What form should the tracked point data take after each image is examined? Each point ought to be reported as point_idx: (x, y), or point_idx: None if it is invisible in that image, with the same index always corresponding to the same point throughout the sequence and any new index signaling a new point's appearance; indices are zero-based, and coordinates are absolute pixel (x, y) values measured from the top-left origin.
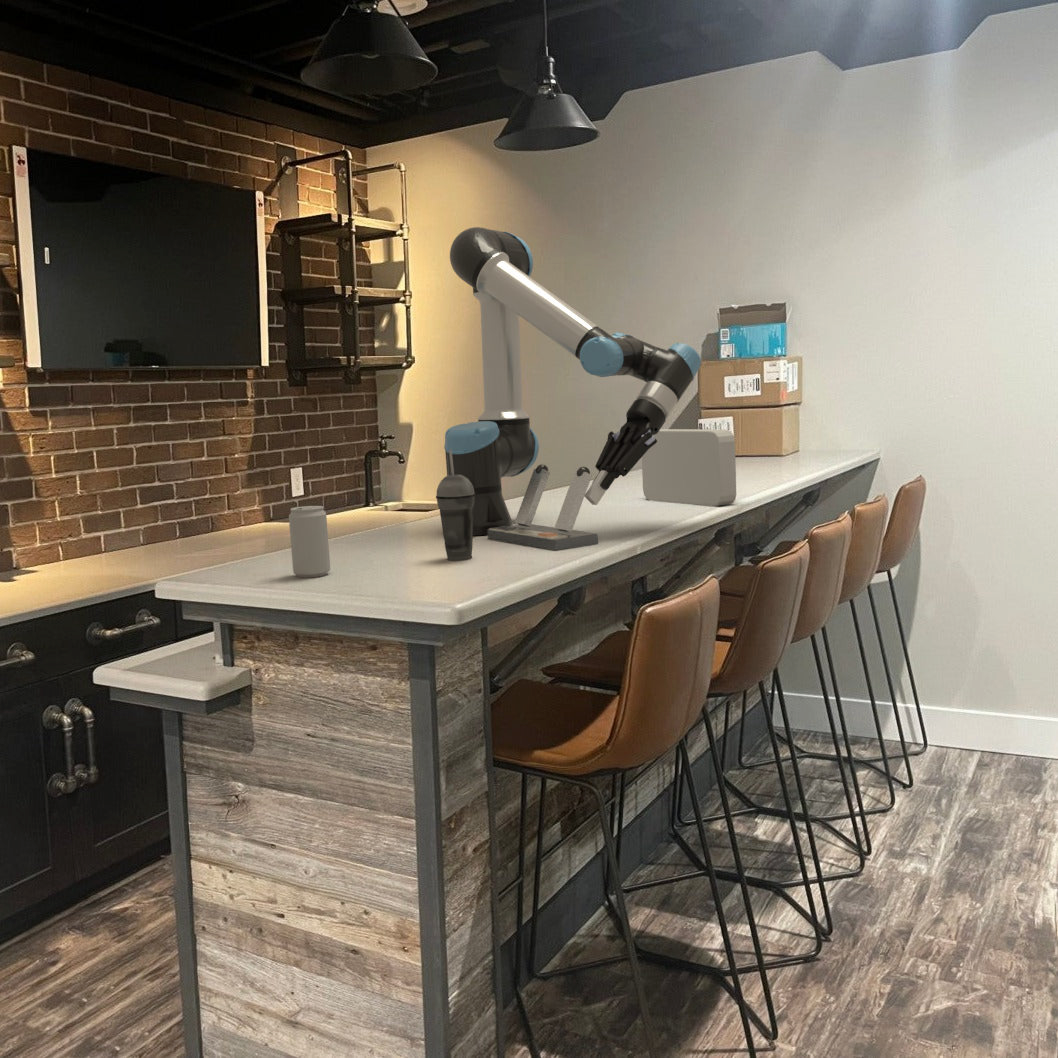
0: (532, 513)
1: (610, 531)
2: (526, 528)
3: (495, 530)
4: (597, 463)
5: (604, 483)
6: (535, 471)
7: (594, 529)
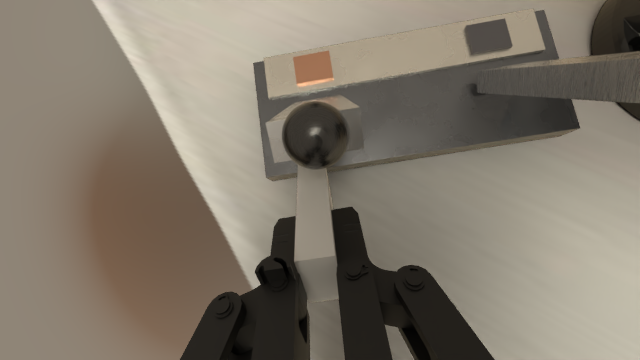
0: (497, 84)
1: None
2: None
3: (502, 16)
4: (430, 291)
5: (275, 226)
6: None
7: (496, 299)
